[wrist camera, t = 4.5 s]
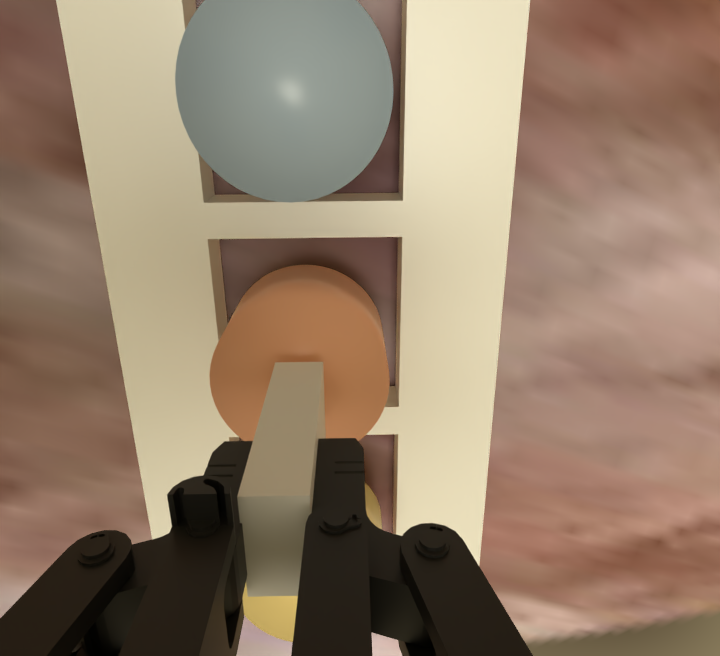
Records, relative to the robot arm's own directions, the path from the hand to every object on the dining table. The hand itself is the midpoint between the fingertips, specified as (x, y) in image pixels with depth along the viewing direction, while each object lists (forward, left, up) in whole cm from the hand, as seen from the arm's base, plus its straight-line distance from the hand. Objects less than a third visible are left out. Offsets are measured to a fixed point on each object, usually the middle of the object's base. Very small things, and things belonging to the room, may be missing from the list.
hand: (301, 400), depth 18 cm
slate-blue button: (0, +9, -5) cm, 10 cm away
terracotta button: (0, 0, -5) cm, 5 cm away
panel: (0, 0, -8) cm, 8 cm away
